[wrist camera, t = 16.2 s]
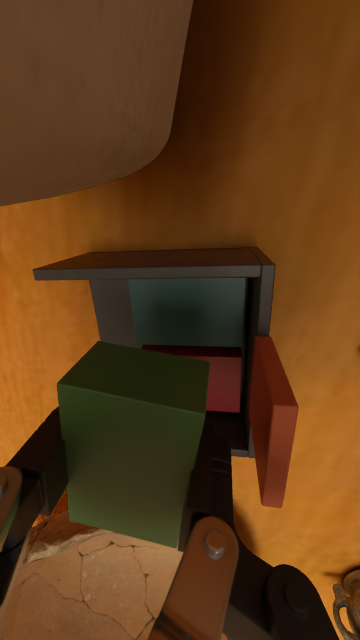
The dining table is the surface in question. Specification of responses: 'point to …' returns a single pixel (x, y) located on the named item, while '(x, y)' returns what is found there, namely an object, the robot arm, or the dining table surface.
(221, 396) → the block
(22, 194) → the flower pot
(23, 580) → the ceramic bowl
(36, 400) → the dining table surface
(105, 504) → the block
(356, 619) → the vessel
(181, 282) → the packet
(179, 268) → the dark grey box
